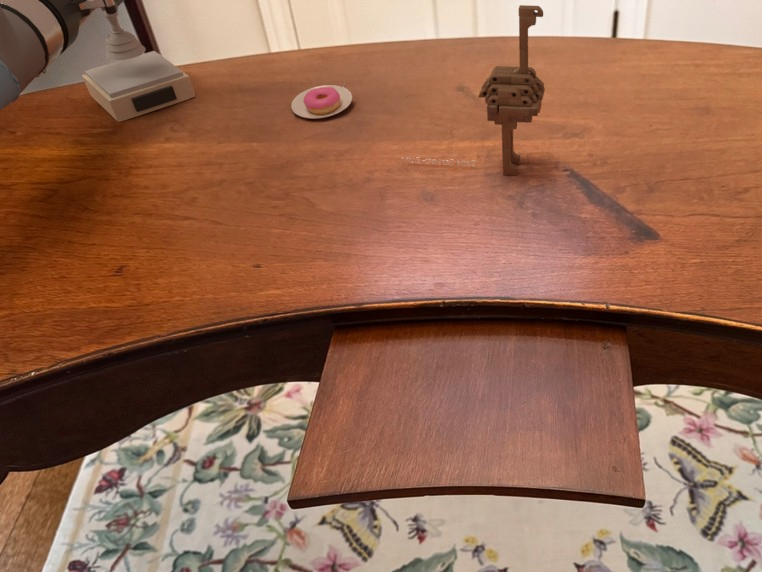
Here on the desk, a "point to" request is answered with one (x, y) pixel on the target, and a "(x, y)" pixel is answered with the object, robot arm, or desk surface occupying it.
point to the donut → (321, 101)
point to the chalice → (121, 41)
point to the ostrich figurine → (510, 95)
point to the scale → (138, 85)
